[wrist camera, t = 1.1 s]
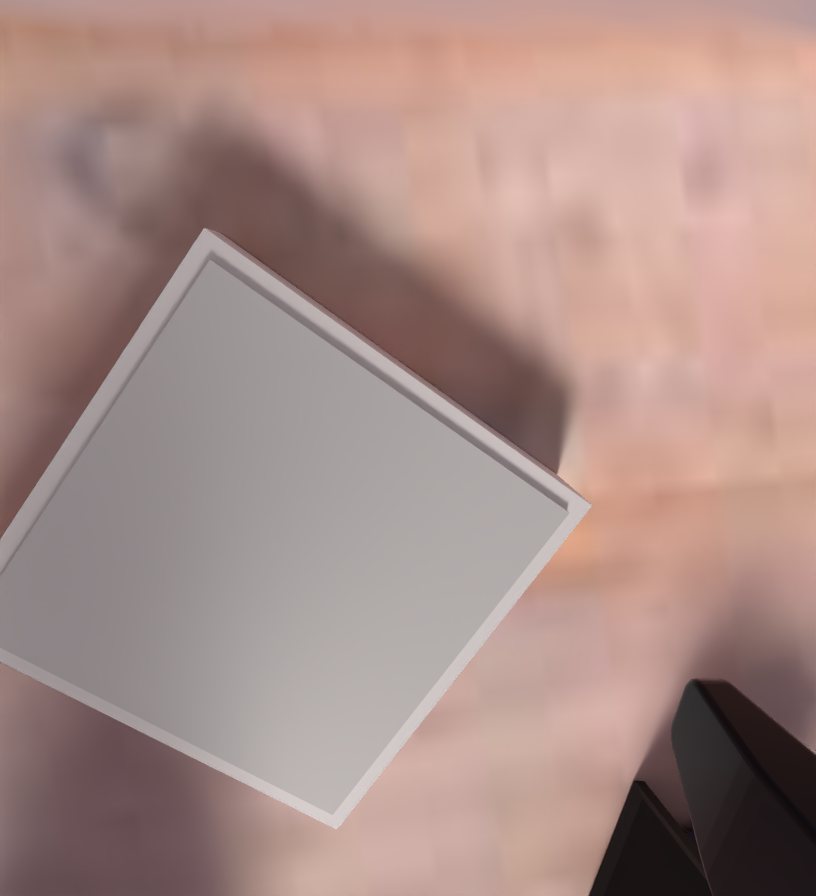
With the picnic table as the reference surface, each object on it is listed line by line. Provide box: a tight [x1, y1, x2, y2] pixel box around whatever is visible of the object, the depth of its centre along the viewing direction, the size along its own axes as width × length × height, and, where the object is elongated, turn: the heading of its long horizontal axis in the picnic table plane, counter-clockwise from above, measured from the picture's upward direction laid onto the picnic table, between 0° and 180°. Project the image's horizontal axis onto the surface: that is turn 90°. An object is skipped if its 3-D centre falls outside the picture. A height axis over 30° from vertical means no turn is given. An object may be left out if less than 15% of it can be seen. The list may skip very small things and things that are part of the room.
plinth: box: [0, 228, 592, 830], centre depth 20 cm, size 12×12×3 cm
